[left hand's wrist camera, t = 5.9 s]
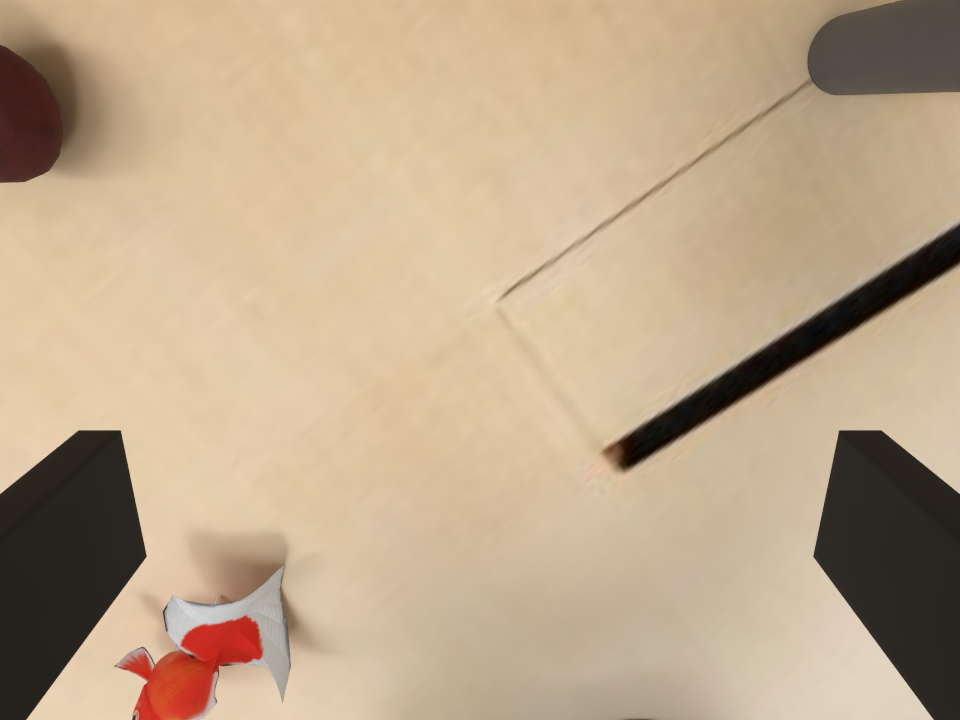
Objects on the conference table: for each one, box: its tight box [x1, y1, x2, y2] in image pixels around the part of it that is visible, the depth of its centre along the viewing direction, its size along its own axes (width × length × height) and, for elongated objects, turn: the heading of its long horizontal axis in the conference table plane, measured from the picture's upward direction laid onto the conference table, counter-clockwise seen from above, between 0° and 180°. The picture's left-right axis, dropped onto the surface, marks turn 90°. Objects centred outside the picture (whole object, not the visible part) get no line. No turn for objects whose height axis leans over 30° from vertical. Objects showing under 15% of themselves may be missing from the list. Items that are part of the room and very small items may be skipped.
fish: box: [114, 564, 291, 720], centre depth 49 cm, size 11×16×10 cm
